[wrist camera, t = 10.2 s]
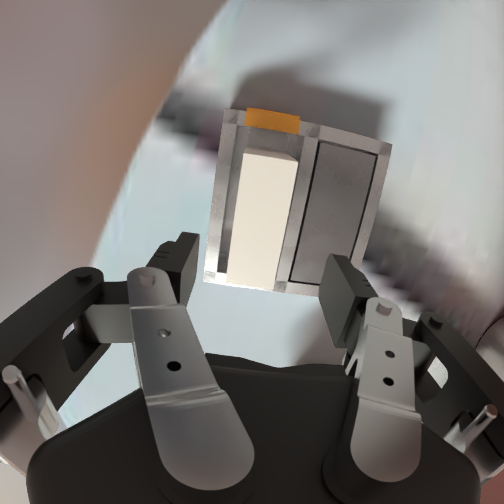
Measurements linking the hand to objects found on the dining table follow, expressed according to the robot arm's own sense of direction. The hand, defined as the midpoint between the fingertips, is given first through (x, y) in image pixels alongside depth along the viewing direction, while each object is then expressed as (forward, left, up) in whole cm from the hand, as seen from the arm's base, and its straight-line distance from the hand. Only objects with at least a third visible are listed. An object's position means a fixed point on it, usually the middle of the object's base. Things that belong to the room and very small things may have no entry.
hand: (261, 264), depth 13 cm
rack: (-3, 0, -12) cm, 13 cm away
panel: (0, 0, -12) cm, 12 cm away
